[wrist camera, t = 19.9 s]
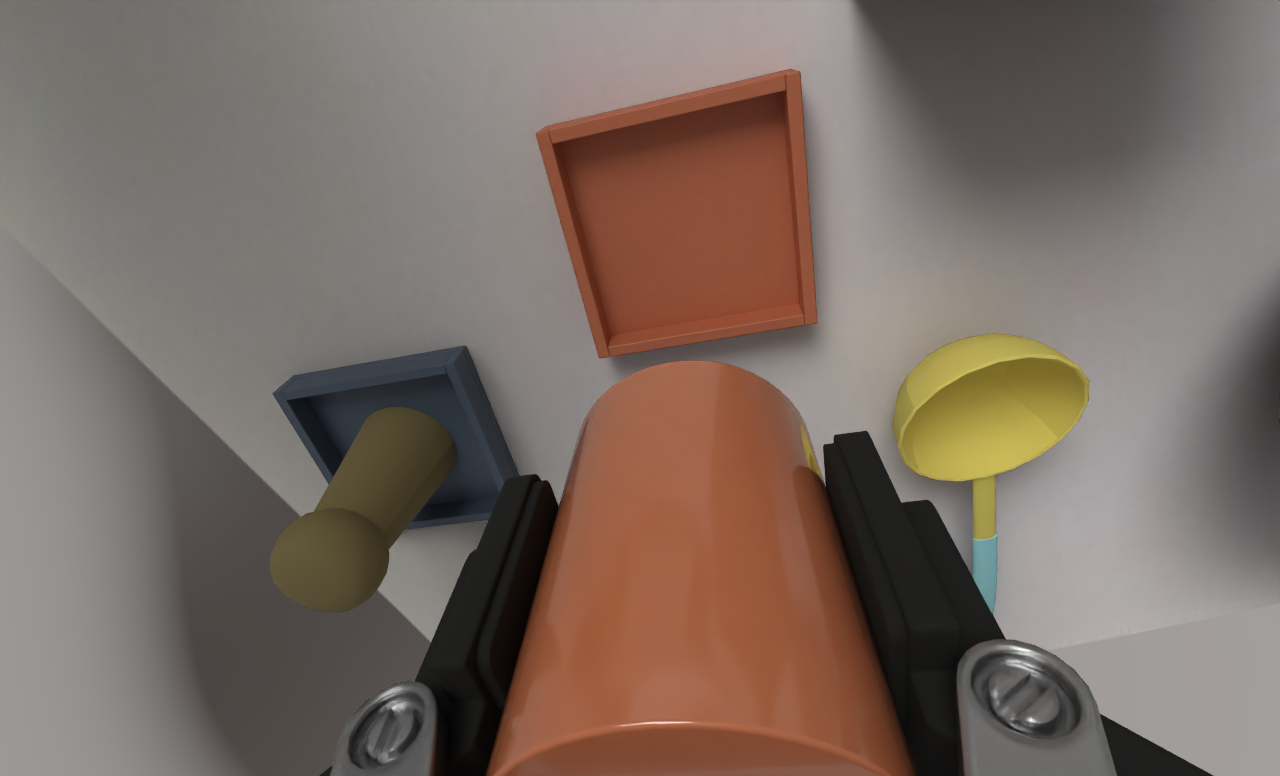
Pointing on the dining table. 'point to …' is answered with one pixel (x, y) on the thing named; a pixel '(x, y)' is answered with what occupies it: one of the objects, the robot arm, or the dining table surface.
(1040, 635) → the dining table surface
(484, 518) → the slate tray
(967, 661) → the robot arm
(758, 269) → the terracotta tray
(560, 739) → the terracotta jar
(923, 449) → the ladle
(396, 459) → the pepper shaker
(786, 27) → the dining table surface
